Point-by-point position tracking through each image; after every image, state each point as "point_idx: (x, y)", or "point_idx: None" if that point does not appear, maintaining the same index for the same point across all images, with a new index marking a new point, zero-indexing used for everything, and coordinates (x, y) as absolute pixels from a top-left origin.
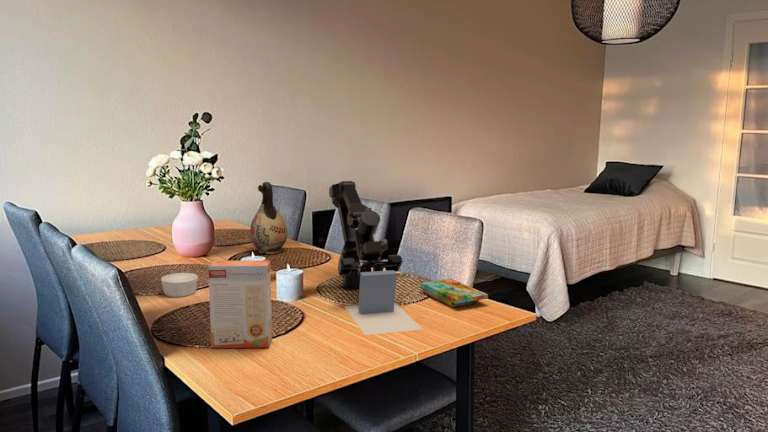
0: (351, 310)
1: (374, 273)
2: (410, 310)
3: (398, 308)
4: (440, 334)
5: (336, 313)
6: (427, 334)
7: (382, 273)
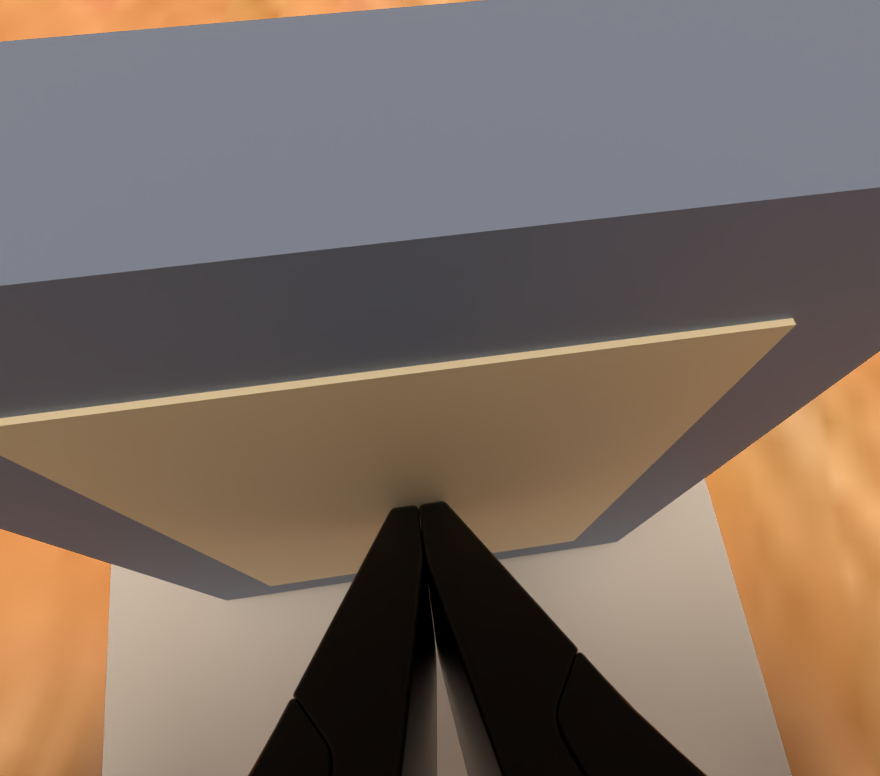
0: (688, 596)
1: (526, 76)
2: (25, 568)
3: (142, 604)
4: (47, 14)
5: (838, 564)
6: (136, 24)
7: (205, 82)
